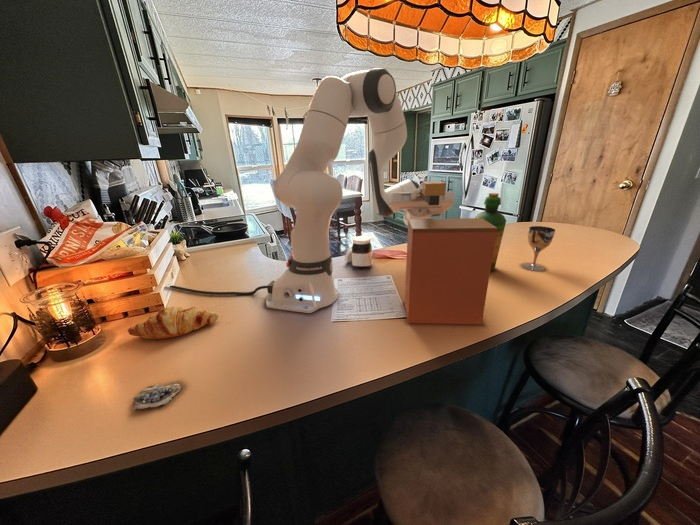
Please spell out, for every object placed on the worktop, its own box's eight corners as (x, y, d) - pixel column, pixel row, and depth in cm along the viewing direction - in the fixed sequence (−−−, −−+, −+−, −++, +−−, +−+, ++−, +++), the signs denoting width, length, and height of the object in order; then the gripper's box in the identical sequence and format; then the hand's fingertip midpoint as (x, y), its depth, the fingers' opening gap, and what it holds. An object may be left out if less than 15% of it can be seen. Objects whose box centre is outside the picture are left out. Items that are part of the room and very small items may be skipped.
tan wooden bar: (424, 205, 71) (425, 183, 69) (413, 193, 90) (414, 176, 88) (444, 205, 70) (446, 183, 68) (429, 193, 90) (430, 176, 88)
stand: (407, 322, 74) (412, 228, 65) (404, 303, 84) (408, 219, 74) (481, 324, 73) (497, 227, 63) (469, 304, 82) (482, 218, 72)
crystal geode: (134, 394, 55) (131, 387, 54) (180, 376, 59) (177, 369, 58) (133, 419, 50) (129, 411, 49) (183, 397, 54) (180, 389, 53)
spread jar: (369, 271, 107) (369, 242, 103) (341, 269, 110) (340, 241, 105) (373, 260, 118) (373, 233, 114) (347, 259, 120) (346, 233, 116)
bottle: (480, 275, 100) (492, 197, 90) (461, 264, 110) (470, 193, 100) (504, 271, 103) (519, 194, 92) (484, 261, 112) (495, 190, 102)
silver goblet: (544, 273, 100) (554, 233, 95) (519, 268, 105) (527, 230, 99) (546, 266, 106) (556, 227, 101) (522, 261, 111) (530, 225, 105)
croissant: (222, 325, 82) (218, 299, 83) (217, 328, 73) (213, 298, 73) (137, 343, 75) (134, 313, 76) (120, 348, 66) (116, 315, 66)
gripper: (388, 198, 99) (390, 181, 85) (447, 197, 97) (459, 180, 83) (388, 215, 98) (390, 201, 84) (448, 215, 96) (460, 200, 82)
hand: (425, 191), depth 84 cm, fingers closed on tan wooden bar, 2 cm apart
